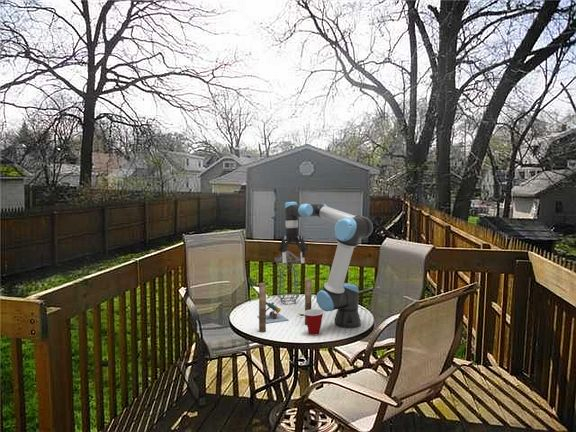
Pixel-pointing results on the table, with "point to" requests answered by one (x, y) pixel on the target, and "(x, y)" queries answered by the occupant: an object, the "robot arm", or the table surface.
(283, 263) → the geometric lantern
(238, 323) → the table surface
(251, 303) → the table surface
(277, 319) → the grey mat
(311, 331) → the plastic cup
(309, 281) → the post gap
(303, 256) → the robot arm
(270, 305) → the binoculars
